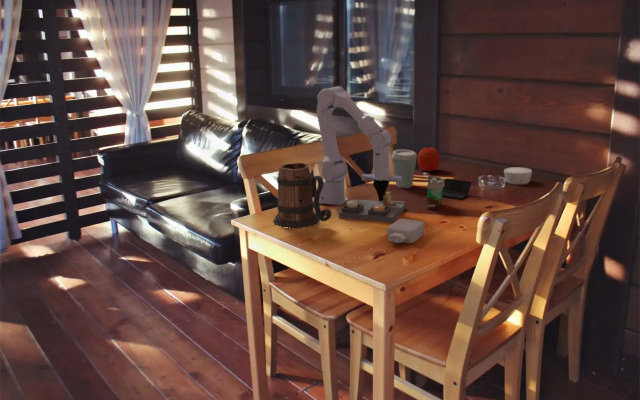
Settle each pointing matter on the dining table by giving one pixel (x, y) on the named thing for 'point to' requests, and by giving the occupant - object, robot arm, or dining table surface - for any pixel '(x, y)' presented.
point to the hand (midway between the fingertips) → (381, 200)
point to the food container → (434, 192)
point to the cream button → (352, 204)
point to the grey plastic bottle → (405, 231)
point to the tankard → (298, 197)
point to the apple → (428, 159)
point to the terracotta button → (379, 208)
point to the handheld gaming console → (456, 189)
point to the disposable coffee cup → (404, 166)
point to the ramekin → (517, 175)
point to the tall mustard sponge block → (388, 199)
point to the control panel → (368, 213)
